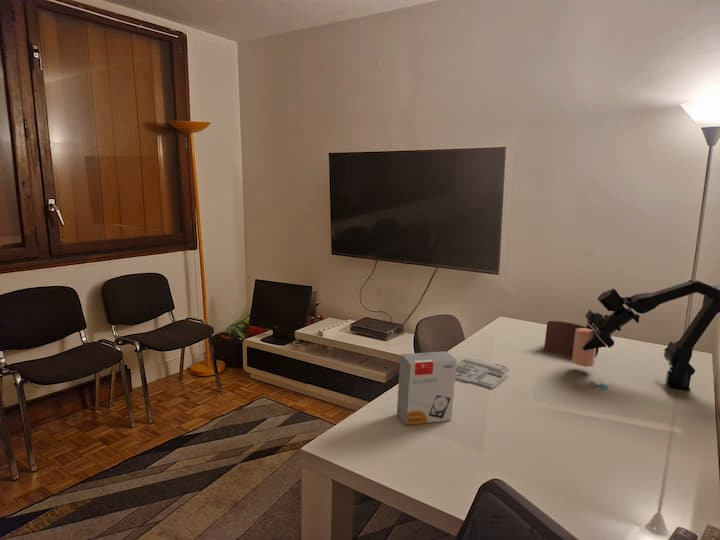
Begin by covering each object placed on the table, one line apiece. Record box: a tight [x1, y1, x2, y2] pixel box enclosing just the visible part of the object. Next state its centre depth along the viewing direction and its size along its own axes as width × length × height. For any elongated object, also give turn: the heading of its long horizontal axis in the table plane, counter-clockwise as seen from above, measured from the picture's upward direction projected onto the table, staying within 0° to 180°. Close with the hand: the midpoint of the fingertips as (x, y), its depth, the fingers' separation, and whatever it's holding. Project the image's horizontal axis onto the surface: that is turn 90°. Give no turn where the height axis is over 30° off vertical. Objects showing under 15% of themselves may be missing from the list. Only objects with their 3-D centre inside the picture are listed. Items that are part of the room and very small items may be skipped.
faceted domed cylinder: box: [571, 328, 598, 368], centre depth 179 cm, size 7×7×12 cm
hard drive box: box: [396, 351, 458, 426], centre depth 144 cm, size 16×8×20 cm, turn 105°
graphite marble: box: [588, 381, 599, 389], centre depth 168 cm, size 3×3×3 cm
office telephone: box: [455, 356, 510, 390], centre depth 181 cm, size 23×3×20 cm
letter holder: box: [543, 320, 599, 358], centre depth 204 cm, size 10×20×14 cm, turn 52°
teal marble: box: [597, 382, 609, 390], centre depth 167 cm, size 3×3×3 cm
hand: (580, 345), depth 179 cm, fingers closed on faceted domed cylinder, 7 cm apart
